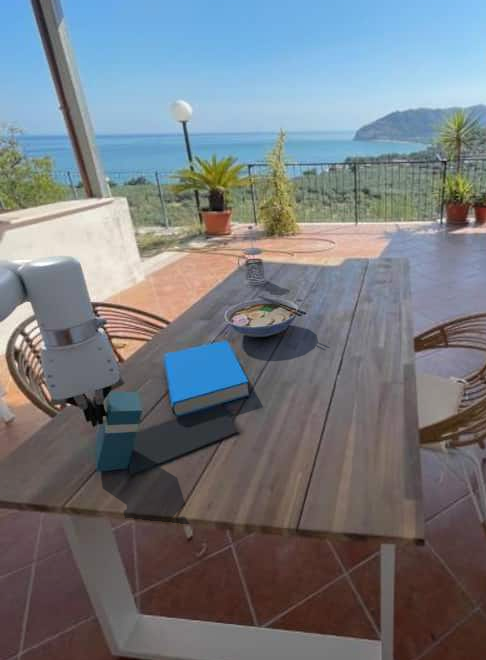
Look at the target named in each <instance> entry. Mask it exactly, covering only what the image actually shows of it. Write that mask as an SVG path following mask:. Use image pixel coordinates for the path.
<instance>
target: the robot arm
mask: <svg viewBox="0 0 486 660" xmlns="http://www.w3.org/2000/svg"><path fill="white" fill-rule="evenodd" d="M25 303H30V305H31V308H32V311H33V314H34V318H35V320H36V323H37V326H38V329H39V332H40V335H41V338H42V341H40V342H39V354H40V355H39V356H40V362H41V368H42V373H43V377H44V380H45V381H44V382H45V385H46V388H47V392H48V395H49V397H50V405H51V406H61V405H66V404H68V405H70V406H75V407H76V408H77V407H78V408H79V409H80V410H82V412H83V415H84V419H85V421H86V423H89V422H90V423H91V426H92V428H94V427H97V426H98V425H99V426H100V425H101V424H103V417H104V416H106V411H105V403H104V401H105V400H106V399H107V395H108V394H109V393H110V392H112V391H114V390H116V389H118V388H120V387H122V386H123V385H124V379H123V377H122V376H121V374H120V372H119V370H120V369H119V365H118V361H117V358H116V355H115V352H114V348H113V345H112V343H111V341H110V338H109V337H108V334H107V333H106V331H105V329H104V328H102V327H103V326H106V325H108V321H107V317H106V316H103V317H100V316H99V317H98V315H95V312H94V307H93V305H92V300H91V297H90V293H89V290H88V285H87V282H86V279H85V274H84V271H83V268H82V265H81V262H80V261H79V260H78V259H77V258H75V257H73V256H69V255H55V256H46V257H41V258H37V259H0V323H2V322H4V321H5V320H6V319H8V318H9V317H10V316H11V314H13V312H15V310H16V309H17V308H18V307H19V306H21V305H23V304H25ZM91 392H94V396H93V397H92V398H93V399H92V400H91V398H88V396H87V393H91Z"/></svg>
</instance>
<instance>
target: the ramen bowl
mask: <svg viewBox="0 0 486 660" xmlns="http://www.w3.org/2000/svg"><path fill="white" fill-rule="evenodd" d="M257 297H258V298H255V299H250V300H246V301H242V302H240V303H238V304H235V305H233V306H231V307H230V308H229V309H228V310H226V311H225V312H224V319H225V321H226V322H227V323H228V325H229V326H230V327H231V328H232V329H233V330H234V331H236V332H237V333H238V334H242V335H245V336H247V337H254V338H267V337H269V336H273V335H276V334H279V333H280V332H282V331H284V330H286V329H287V328H288V327H289V326H290V324H291V323H292V322H293V321H294V319H296V316H298V317H302V315H304V316H305V315H307V312H306V311H304V310H301V309H298V305H297V304H295V303H293V302H292V301H291V300H286V299H283V298H274V297H264V296H262V295H259V294H258V295H257Z"/></svg>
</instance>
